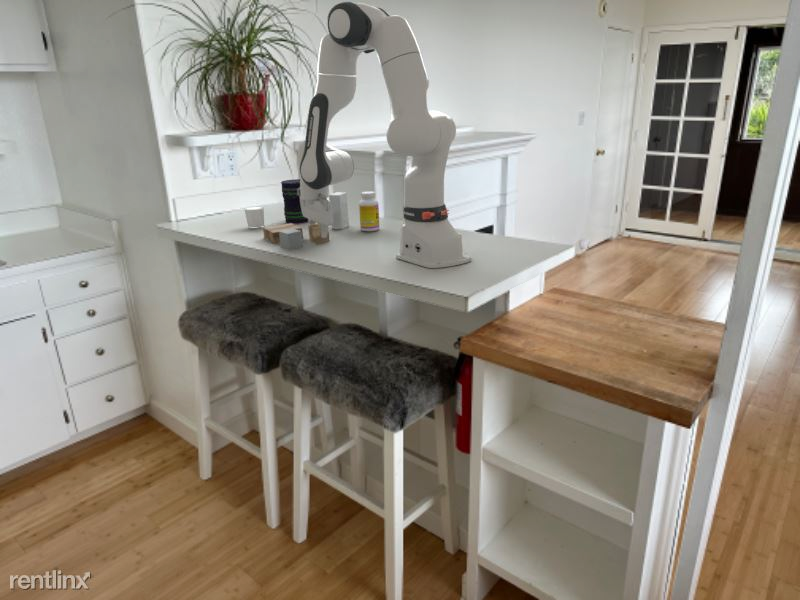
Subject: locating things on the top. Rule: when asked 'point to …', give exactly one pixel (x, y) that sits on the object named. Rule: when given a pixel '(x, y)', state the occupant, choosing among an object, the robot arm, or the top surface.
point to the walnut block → (273, 231)
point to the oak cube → (317, 234)
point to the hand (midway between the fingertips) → (318, 234)
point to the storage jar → (292, 202)
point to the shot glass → (255, 216)
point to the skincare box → (339, 210)
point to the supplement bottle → (369, 212)
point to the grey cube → (290, 238)
